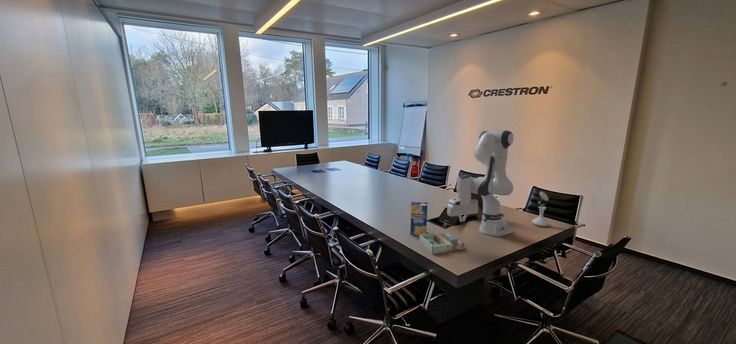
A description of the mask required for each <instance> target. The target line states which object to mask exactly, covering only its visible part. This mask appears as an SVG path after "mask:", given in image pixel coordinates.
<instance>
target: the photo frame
mask: <svg viewBox="0 0 736 344" xmlns="http://www.w3.org/2000/svg"><path fill="white" fill-rule="evenodd" d="M471 199H476V200H478V213H476V214H468V215H467V217H471V216H476V217H475V218H477V221H480V222H481V221H482V211H483V199H482V197H481V195H479V194H475V193H471Z"/></svg>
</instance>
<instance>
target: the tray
mask: <svg viewBox="0 0 736 344" xmlns="http://www.w3.org/2000/svg"><path fill="white" fill-rule="evenodd" d="M418 236H419V237H418V239H419V241H418V242H419V243H420V244H421V245H422V246H423V247H424V248H425V249H426V250H427V251H428V252H429V253H430V254H431V255H435V254H443V253H448V251H447V244H442V245H439V244H438V243H437V242H436V241H435V240H434V236H435V232H434V233H433V232H431V233H426V234H422V235H418ZM425 238H431V239H432V240H433V241H434V245H431V244H430V243H429V242H428V241H427V240H426V239H425Z"/></svg>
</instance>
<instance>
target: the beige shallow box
mask: <svg viewBox="0 0 736 344" xmlns="http://www.w3.org/2000/svg"><path fill="white" fill-rule="evenodd" d="M447 236H455V235H454V234H453V233H451V232H447V233H439V234H434V240H435V241H436V242H437V243H438V244H439V245H442V244H447V252H450V251H451V252H452V251H458V250H459V251H460V250H464V249H465V242H464V241H462V240H461V239H460V238H458V237H457V236H455V237H456V238H458V243H449V242H448V241H447Z"/></svg>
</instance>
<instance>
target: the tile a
mask: <svg viewBox="0 0 736 344" xmlns="http://www.w3.org/2000/svg"><path fill="white" fill-rule="evenodd" d="M425 239H426V240H427V241H428V242H429V243H430V244H431V245H434V241H433V240H432V239H431V238H425Z"/></svg>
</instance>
